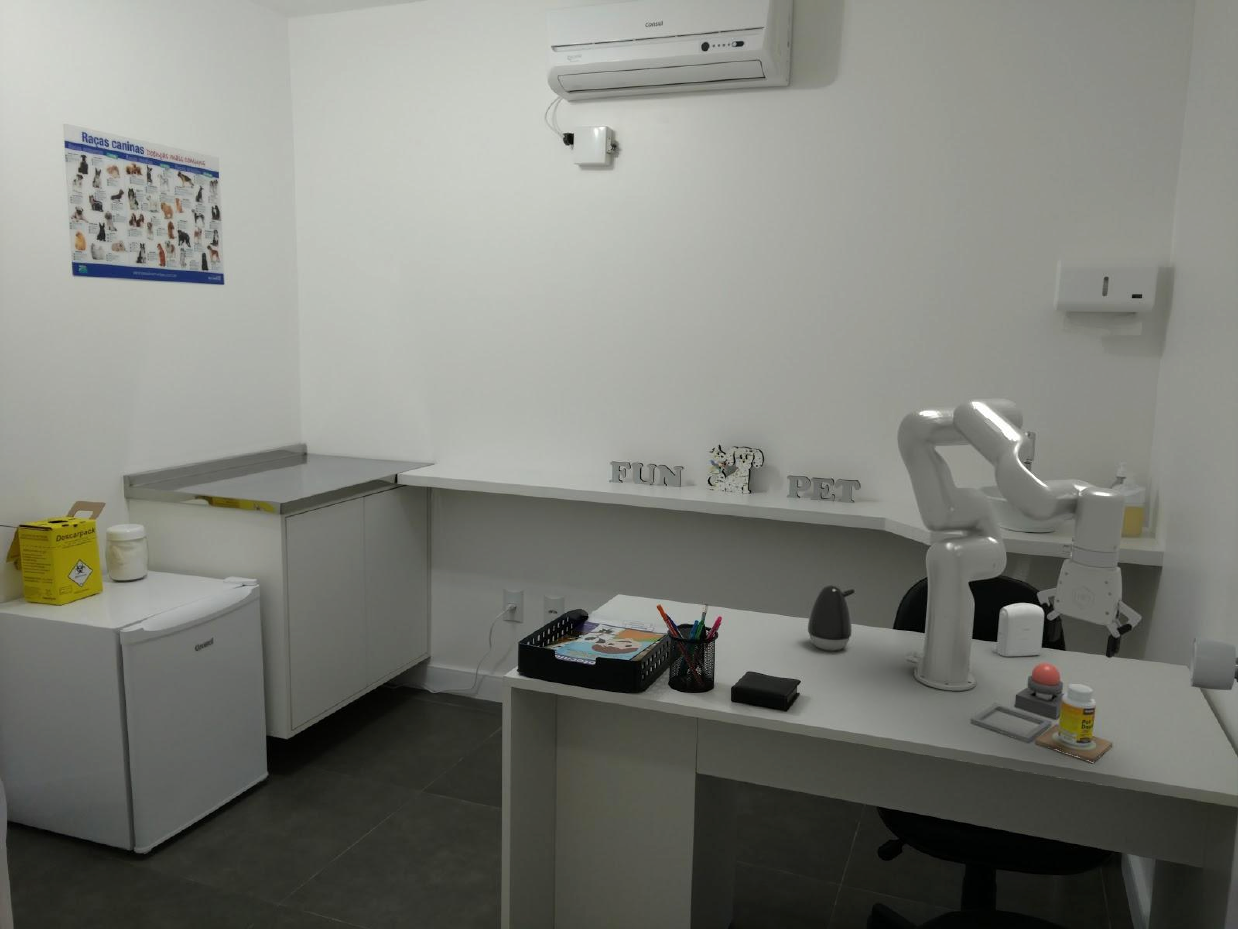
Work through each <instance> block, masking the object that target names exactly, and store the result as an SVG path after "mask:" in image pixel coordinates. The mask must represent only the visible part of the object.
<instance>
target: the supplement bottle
mask: <svg viewBox="0 0 1238 929" xmlns="http://www.w3.org/2000/svg"><path fill="white" fill-rule="evenodd" d="M1063 694H1064V695H1063V697H1062V703H1061V713H1060V717H1059V721H1058V722H1059V723H1058V725H1059V730H1058V736H1059V738H1060V739H1061V740H1062V741H1064V742H1066V743H1068V744H1071V745H1076V746H1087V745H1089V744H1090V743H1091V741H1092V736H1093V732H1094V731H1093V730H1094V724H1095V716H1096V708H1097V702H1096V701H1095V699H1094V698H1093V689H1092V688H1091V687H1089V686H1087V685H1084V684H1079V683H1072V684H1069V685H1068V686H1067V692H1066V693H1063Z"/></svg>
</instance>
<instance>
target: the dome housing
mask: <svg viewBox="0 0 1238 929" xmlns="http://www.w3.org/2000/svg"><path fill="white" fill-rule="evenodd" d="M1064 694H1065V693H1063V692H1062V693H1061V694H1058V695H1052V701H1048V700H1044V699H1041V698H1038V697H1036V692H1035V691H1033V690H1031V689H1029V688H1028V686H1027V687H1026V688H1024V689H1023V690H1021V691H1019V692H1018V693H1016V694H1015V700H1014V707H1016V708H1019V709H1022V710H1025V711H1028V712H1031V713H1035V714H1039V715H1041V716H1045V717H1047V718H1049V719H1050V718H1051V719H1053V720H1057V719H1058V718H1060V717H1059V716H1060V713H1061V703H1062V697H1063V695H1064Z"/></svg>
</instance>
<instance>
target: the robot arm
mask: <svg viewBox="0 0 1238 929" xmlns="http://www.w3.org/2000/svg"><path fill="white" fill-rule="evenodd" d="M1023 424H1024V416H1023V413H1022V411H1021V409H1020V407H1019V405H1017V404H1016V403H1015V402H1014V401H1011V400H1010V399H1007V398H1002V397H1001V398H972V399H971V398H970V399H967V400H965V401H963V402H961V403H960V404H959V405H957V406H945V407H944V406H939V407H938V406H937V407H936V406H934V407H933V406H931V407H929V406H928V407H921V408H917V409H913V410H912V411H909V413H907V414H906V415H905V416H904V417H903V419H902V420H901V422H900V424H899V426H898V430H897V446H898V451H899V454H900V456H901V460H902V461H903V462H902V463H903V464H904V466H905V468H906V471H907V473H908V476H909V479H910V482H911V486H912V491H913V494H914V498H915V500H916V504H917V507H918V512H919V515H920V517H921V518H920V519H921V521H922V524H923V525H924V527H925V528H926V530H928V531H930V532H932V533H935V534H936V533H937V534H949V533H956V532H962V533H961V534H962V536H955V537H947V538H943V539H940V540H937V541H935V542H934V543H932V545H930V547H929V548H928V550H927V552H926V555H925V566H926V568H925V570H926V575H927V604H926V615H925V616H926V617H925V627H924V628H925V629H924V640H923V641H924V642H923V652H921V653H920V652H918V651H915V650H912V649H909V650H908V651H907V654H906V657H907V658H906V661H907V662H909V663H914V664H916V665H917V667H916V668H914V673H913V674H914V675H913V676H914V678H915V679H916V681H919V682H920V683H922V684H923V685H926V686H929V687H932V688H935V689H938V690H939V689H940V690H942V691H943V690H944V691H952V692H953V691H957V692H958V691H959V692H960V691H968V690H971V689H972V688H974V687H975V686H976V684H977V679H976V677H975V675H973V674H972V673H971V672H970V665H971V664H970V661H971V652H972V642H973V641H972V640H973V630H974V618H975V598H974V596H973V593H972V591H971V588H970V586H969V582H973V581H981V580H989V579H994V578H996V577H998V576H1000V575H1001V574H1002V573H1003V572H1004V570H1005V568H1006V566H1007V562H1008V560H1007V552H1006V550H1007V549H1006V546H1005V543H1004V540H1003V536H1002V534H1001V529H1000V527H999V523H998V520H997V516H996V513H995V510H994V507H993V505H992V502H991V500H990V499H989V498H988V496H987V495H986V494H985V493H984V492H982V491H981V490H980V489H977V488H974V487H957V486H956V484H955V481H954V479H953V476H952V471H951V469H950V466H949V464H948V463H947V461H946V460H945V459H944V457H943V456H942V455H941V454H940V453H939V452H938V451H937V450H936V447H949V446H968V445H970V446H971V447H973V449H975V450H976V451H977V452H978V453H979V454H980V455H981V456H982V457H983V458H984V459H985V460H986V461H988V463H989V464H991V465H992V466H993V467H994V471H993V472H994V478H995V482H996V485H997V488H998V490H999V492H1000V494H1001V495H1002V496H1003V498H1005V500H1006V501H1007V502H1008V504H1010V505H1011V506H1012V507H1013V509H1015V510H1016V511H1017V512H1019V513H1020V514H1021V515H1023V516H1024V517H1026V518H1027V519H1029V520H1031V521H1034V522H1038V523H1048V522H1058V521H1074V524H1073V525H1074V526H1073V531H1072V532H1073V533H1072V540H1071V543H1069V544H1063V546H1062V552H1063V553H1064V552H1065V553H1067V554H1068V558H1066V559H1064V561H1063V563H1062V566H1061V569H1060V571H1059V572H1060V573H1059V575H1058V579H1057V584H1056V587H1054V588H1049V589H1044V590H1041V591H1039V592H1037V594H1036V596H1037V599H1038V601H1039V603H1040V607H1041V608H1042V609H1043V612H1044V614H1045V615H1046V618H1047V619H1048V620H1049V621H1048V629H1047V635H1049V640H1048V641H1049V642H1051V643H1053V642H1056V641H1058V640H1059V639H1060V637H1061V630H1062V623H1063V619H1062V617H1061V616H1065V617H1069V618H1073V619H1078V620H1081V621H1085V622H1087V623H1092V624H1096V625H1102V626H1106V627H1107V629H1108V631H1109V632H1110V635H1108V637H1107V644H1106V652H1105V657H1106V658H1107V659H1111V658H1112V657H1115V655H1117V654H1119V652H1120V649H1121V648H1120V647H1121V642H1122V635H1125V634H1127V633H1128V632H1130V631H1131V630H1134V627H1135V626H1137V625H1138V624H1139V622H1140V621H1141V620H1142V617H1143V616H1142V615H1141V614H1139V613H1138V611H1135V610H1134V609H1133V608H1131V607H1130V606H1129V605H1127V604H1125V603H1124V602H1123V601H1122V598H1123V581H1122V580H1123V577H1122V571H1121V567H1119V566H1118V562H1119V554H1120V549H1121V548H1120V547H1121V540H1122V533H1123V524H1124V518H1125V510H1126V506H1127V505H1126V504H1127V503H1126V502H1127V499H1126V496H1125V494H1124V493H1123V492H1122V491H1119V490H1116V489H1113V488H1108V487H1101V486H1100V487H1098V486H1097V485H1094V484H1092V483H1090V482H1086V481H1084V480H1081V479H1078V478H1077V479H1076V478H1069V479H1048V480H1040V479H1039V478H1037V477H1036V475H1034V474H1033V473H1032V472H1031V471H1030V470H1029V469H1028V468H1026V467H1025V465H1024V464H1023V463H1024V462H1025V461H1026V460H1027V459H1028V457H1029V456H1030V454H1031V451H1032V446H1033V444H1032V441H1031V438H1030V437H1029V436H1028V435H1027V434H1026V433H1024V432H1023V431H1022V428H1023ZM1050 597H1054V598H1053V604H1052V603H1051V602H1050V600H1049V598H1050ZM1121 614H1123V615H1124V616H1125V617H1127V618H1128V621H1127V622H1126V623H1125V624H1122V623H1121V622H1120V620H1119V618H1120V617H1121Z"/></svg>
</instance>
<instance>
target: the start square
mask: <svg viewBox="0 0 1238 929" xmlns="http://www.w3.org/2000/svg"><path fill="white" fill-rule="evenodd" d="M997 711H1000V712H1003V713H1006V712H1007V713H1006V714H1009V715H1012V716H1015V715H1016V716H1015V717H1017V718H1018V717H1019V718H1021V719H1025V720H1028V721H1030V722H1034V723H1036V722H1037V724H1038V725H1037V726H1036V727H1035V728H1033V729H1032V730H1030V731H1029V732H1027V733H1026V734H1024V733H1021V732H1018V731H1015V730H1011V729H1009V728H1006V727H1003V726H1000V725H996V724H995V723H991V722H988V721H985V719H986V718H988V717H989V716H991V715H992V714H994V713H995V712H997ZM970 723H971V724H973V725H976V726H980V727H982V726H983V727H982V728H985V727H986V728H985V729H988V730H990V729H993V730H995V731H994V732H996V731H997V733H999V732H1002V733H1004V734H1003V735H1005V734H1006V736H1008V735H1009V737H1011V736H1013V737H1012V738H1014V737H1016V738H1015V739H1017V738H1018V739H1017V740H1019V739H1021V740H1020V741H1022V740H1023V741H1022V742H1025V741H1026V742H1025V743H1030V742H1032V740H1034V739H1035V738H1037V737H1039V735H1040V734H1041V735H1042V734H1043V733H1044V732H1046V731H1047V729H1050V728H1051V727H1052V723H1053V722H1052V721H1051V720H1049V719H1046V718H1042V717H1038V716H1036V715H1033V714H1031V713H1030V714H1029V713H1027V712H1024V711H1020V710H1018V709H1014V708H1012V707H1008V706H1005V705H1002V704H999V703H996V702H995V703H994V704H992V705H991V706H989V707H987V708H986V709H984V710H982V711H981V712H979V713H978V714H976V715H975V716H972V717H971V719H970ZM1039 723H1040V724H1039ZM993 730H992V731H993ZM1002 733H1001V734H1002Z"/></svg>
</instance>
